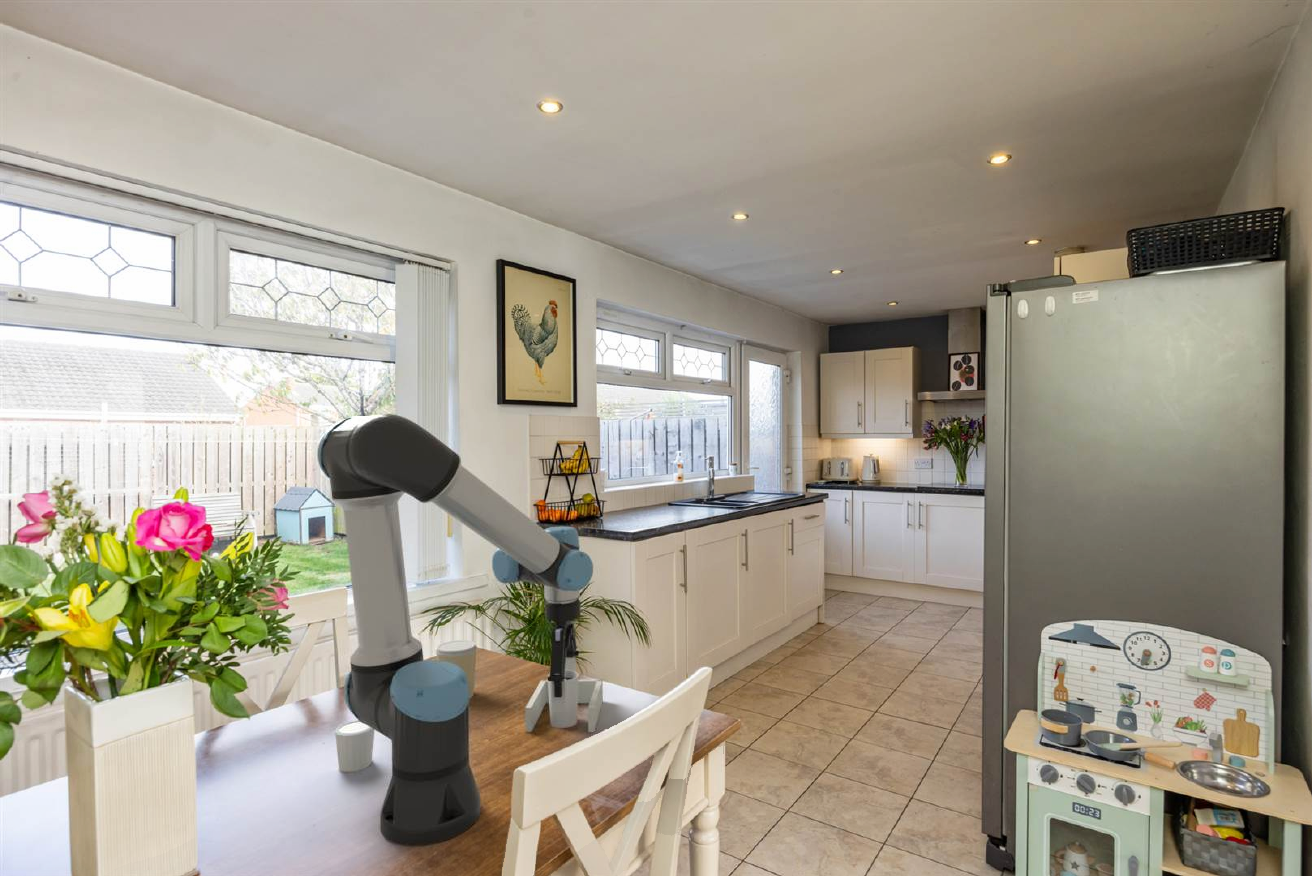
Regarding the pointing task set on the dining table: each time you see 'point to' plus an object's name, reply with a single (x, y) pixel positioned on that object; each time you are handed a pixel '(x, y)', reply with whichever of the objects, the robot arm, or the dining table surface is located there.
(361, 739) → the white tapered cup
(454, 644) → the coffee cup
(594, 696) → the u-shaped frame
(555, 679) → the robot arm
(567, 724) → the white cup
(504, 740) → the dining table surface
